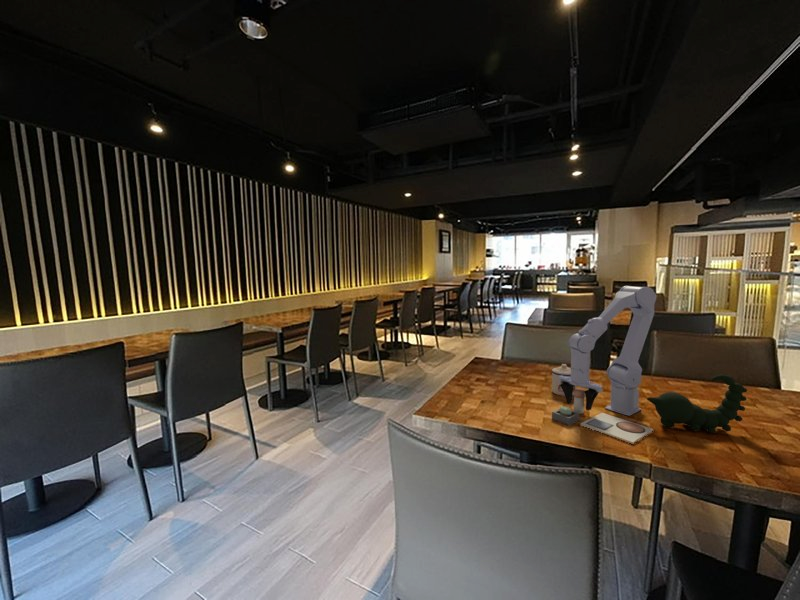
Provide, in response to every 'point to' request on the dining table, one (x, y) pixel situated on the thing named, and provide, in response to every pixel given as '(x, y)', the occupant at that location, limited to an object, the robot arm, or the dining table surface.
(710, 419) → the toy figurine
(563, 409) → the button
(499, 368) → the dining table surface
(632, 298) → the robot arm
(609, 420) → the picture board
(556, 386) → the teacup with lid
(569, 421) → the button housing
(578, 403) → the small capped bottle
